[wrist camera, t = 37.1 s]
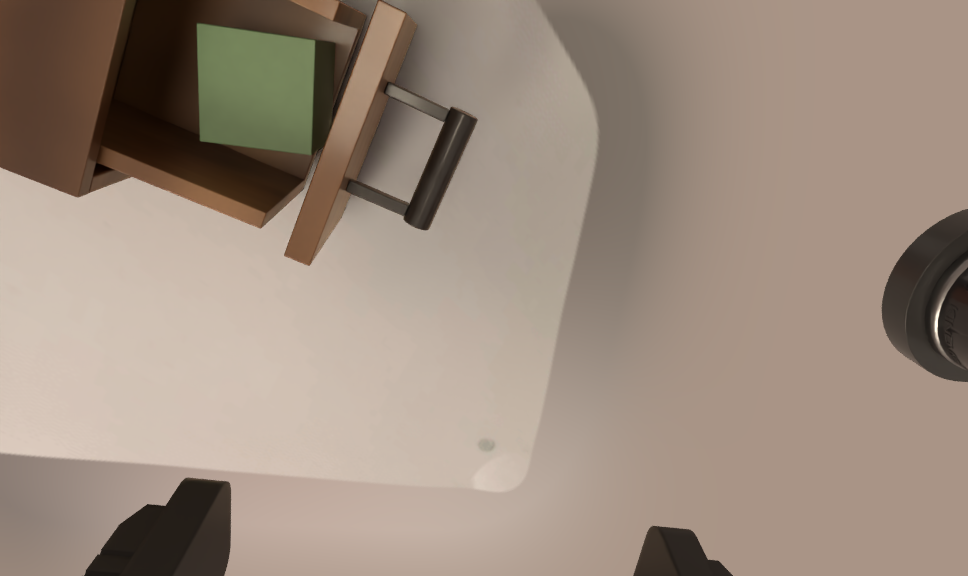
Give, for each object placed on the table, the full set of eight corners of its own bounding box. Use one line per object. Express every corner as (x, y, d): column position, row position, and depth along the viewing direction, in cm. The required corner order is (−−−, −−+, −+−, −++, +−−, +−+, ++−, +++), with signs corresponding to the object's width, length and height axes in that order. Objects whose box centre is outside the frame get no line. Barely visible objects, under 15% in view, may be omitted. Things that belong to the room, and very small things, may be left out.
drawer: (494, 63, 32) (510, 65, 24) (413, 247, 36) (403, 303, 28) (157, -106, 29) (42, -171, 21) (103, 117, 32) (-15, 137, 24)
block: (234, 27, 30) (195, 22, 25) (335, 42, 31) (315, 39, 26) (235, 129, 32) (199, 141, 27) (331, 141, 32) (311, 155, 28)
